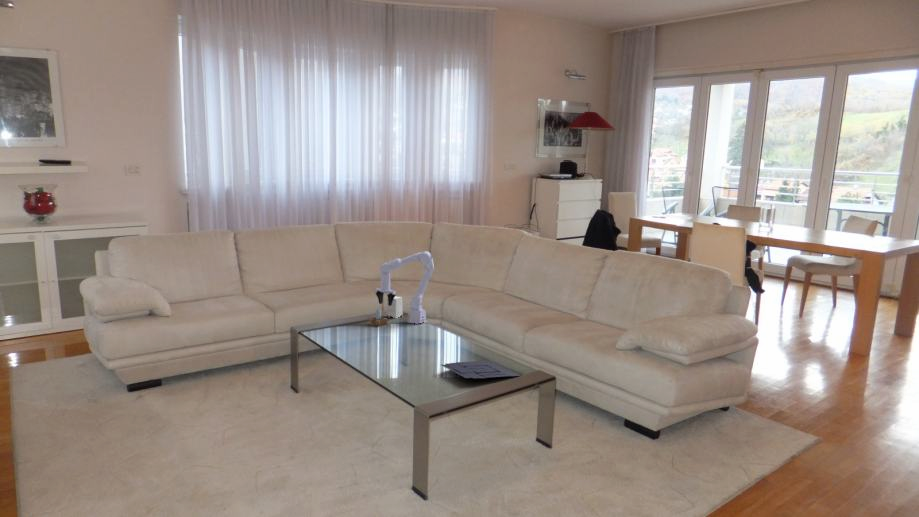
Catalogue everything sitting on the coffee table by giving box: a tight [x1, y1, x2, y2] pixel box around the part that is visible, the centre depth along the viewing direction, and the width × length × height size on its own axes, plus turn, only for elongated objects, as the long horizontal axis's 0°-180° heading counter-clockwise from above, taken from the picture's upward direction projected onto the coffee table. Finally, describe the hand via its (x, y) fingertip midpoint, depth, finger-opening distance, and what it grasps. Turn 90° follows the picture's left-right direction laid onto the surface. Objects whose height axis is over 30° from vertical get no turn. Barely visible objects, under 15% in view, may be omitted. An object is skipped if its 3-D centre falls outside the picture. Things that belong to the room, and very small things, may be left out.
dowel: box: [375, 308, 382, 320], centre depth 350 cm, size 3×3×9 cm
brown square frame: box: [368, 316, 388, 327], centre depth 350 cm, size 8×8×4 cm
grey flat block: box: [440, 360, 522, 379], centre depth 267 cm, size 24×30×4 cm
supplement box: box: [386, 295, 403, 319], centre depth 370 cm, size 7×7×13 cm
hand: (385, 304), depth 358 cm, fingers open, 7 cm apart
